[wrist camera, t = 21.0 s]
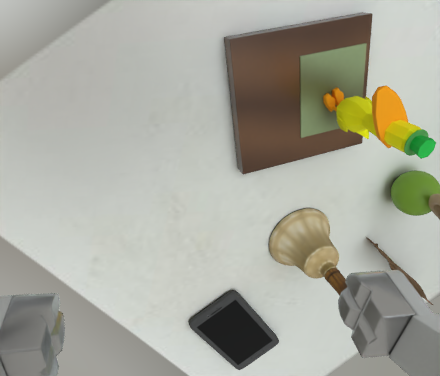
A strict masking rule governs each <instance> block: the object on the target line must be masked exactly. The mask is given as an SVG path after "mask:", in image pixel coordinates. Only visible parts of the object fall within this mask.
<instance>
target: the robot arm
mask: <svg viewBox="0 0 440 376" xmlns="http://www.w3.org/2000/svg"><path fill="white" fill-rule="evenodd" d="M345 283H346V285H347V286H348V287H347V288H346V289H344V290H343V291H342V292H341V294H340V297H339V300H338V304H339V312H340V315H341V318H342V320H343V322H344V324H345V325H347V326H348V327H349V328H351V329H352V330H353V331H352V336H351V338H352V340H353V341H354V343H355V345H356V347H357V349H358V351H359V353H360V355H361V357H362V358H366V357H377V356H389V358H390V359H391V360H393V361H394V362H395V363H396V364H397V365H398V366H399V367H400V368H401V369H403V370H404V371H405V372H406V373H407V374H408V375H409V376H440V314H439V313H438V314H434V313H433V312H432V311H431V309H430V308H429V307H428V305H427V304H426V303H425V301H424V300H423V299H422V298H421V296H420V295H419V294H418V292H417V291H416V290H415V288H414V287H413V286H412V284H411V283H410V282H409V281H408V279H407V278H406V277H405V275H404V274H403V273H402V272H401V271H399V270H388V271H371V272H359V273H351V274H349V275H348V276H347V279H346V281H345ZM59 307H60V298H59V295H58V294H57V293H50V294H30V295H29V294H27V295H11V296H10V295H8V296H0V376H57V373H58V369H59V365H58V361H57V357H56V356H57V355H58V354H59V353H60V352H61V351H62V347H63V343H64V333H65V323H64V316H63V313H61V312H60V311H59Z"/></svg>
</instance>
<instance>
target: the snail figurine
mask: <svg viewBox="0 0 440 376" xmlns="http://www.w3.org/2000/svg"><path fill="white" fill-rule="evenodd" d="M391 198H392V201H393V203H394V205H395V206H396V207H397V208H398V209H399V210H400V211H402V212H404V213H406V214H409V215H415V216H417V215H424V214H427V213H429V212H431V211H432V212H433V213H434V214H435V215H436V216H437V217H438V218H439V219H440V185H439V183H438V181H437V180H436V179H435V178H434V177H433V176H432V175H430V174H428V173H426V172H423V171H409V172H406V173H404V174H402V175H400V176H399V177H398V178H397V179H396V180H395V181H394V183H393V185H392V188H391Z"/></svg>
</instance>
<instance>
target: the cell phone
mask: <svg viewBox="0 0 440 376" xmlns="http://www.w3.org/2000/svg"><path fill="white" fill-rule="evenodd" d="M189 325H190V327H191V328H192V329H193V330H194V331H195V332H196V333H197V334H198V335H199V336H200V337H201V338H202V339H203V340H205V341H206V342H207V343H208V344H209V345H210V346H211V347H213V348H214V349H215V350H216V351H217V352H218V353H219V354H220V355H222V356H223V357H224V358H225V359H226V360H227V361H228V362H230V363H231V364H232V365H233V366H234V367H235V368H236V369H238V370H240V369H243V368H245V367H246V366H248V365H249V364H250V363H252V362H253V361H255V360H256V359H257V358H259V357H260V356H262V355H263V354H265V353H266V352H267V351H269V350H270V349H272V348H273V347H274V346H276V345H277V344H278V343H279V340H278V338H277V336H276V335H275V334H274V333H273V331H272V330H271V329H270V328H269V327H268V326H267V325H266V324H265V322H264V321H263V320H262V319H261V318H260V317H259V316H258V315H257V313H256V312H255V311H254V310H253V309H252V308H251V307H250V306H249V304H248V303H247V302H246V301H245V300H244V299H243V298H242V297H241V296H240V294H239V293H238V292H236V291H234V290H232V291H230V292H228V293H226V294H225V295H224V296H222V297H221V298H219V299H218V300H217V301H215V302H214V303H212V304H211V305H209V306H208V307H207V308H205V309H204V310H202V311H201V312H200V313H198V314H197V315H195V316H194V317H193V318H192V319H191V320H190V321H189Z"/></svg>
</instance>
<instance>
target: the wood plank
mask: <svg viewBox="0 0 440 376" xmlns="http://www.w3.org/2000/svg"><path fill="white" fill-rule="evenodd" d="M366 238H367V237H366ZM367 239H368V238H367ZM368 240H369V239H368ZM369 241H370V242H371V243H373V242H372V241H371V240H369ZM373 244H374V243H373ZM374 246H375V247H376V248H377V249H378V250H379V252H380V253H381V254H382V255H383V256H384V257H385V258H386V259H387V260H388V262H389V265H390V267H391V270H399V271H401V272H402V273H403V274H404V275H405V277H406V278H407V279H408V281H409V282H410V283H411V284H412V286H413V287H414V288H415V290H416V291H417V292H418V294H419V295H420V296H421V297H423V298H425V299H426V300H427V298H426V296H425V294H424V292H423V290H422V288H421V287H420V285H419V284H418V283H417V282H416V281H415V280H414V279H413V278H411V277H410V276H409V275H408V274H407V273H406V272H405V271H403V270H402V269H401V268H400V267H399V266H397V265H396V264H395V263H394V262H393V261H392V260H391V259H390V258H389V257H388V256H387V255H386V254H385V253H384V252H383V251H382V250H381V249H379V248H378V244H374ZM427 301H428V300H427ZM428 302H429V303H431V302H430V301H428ZM431 304H432V303H431ZM432 305H433V304H432Z"/></svg>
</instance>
